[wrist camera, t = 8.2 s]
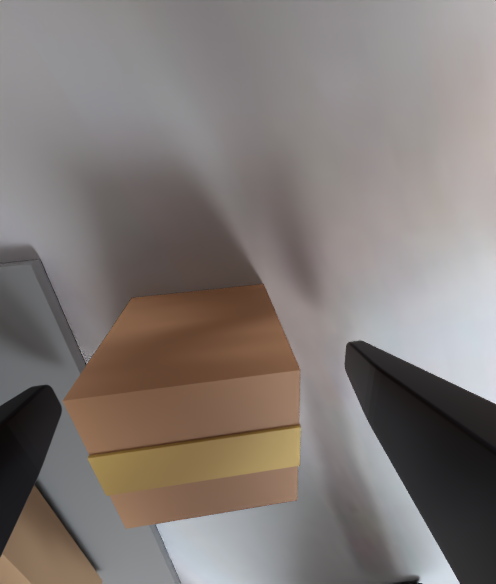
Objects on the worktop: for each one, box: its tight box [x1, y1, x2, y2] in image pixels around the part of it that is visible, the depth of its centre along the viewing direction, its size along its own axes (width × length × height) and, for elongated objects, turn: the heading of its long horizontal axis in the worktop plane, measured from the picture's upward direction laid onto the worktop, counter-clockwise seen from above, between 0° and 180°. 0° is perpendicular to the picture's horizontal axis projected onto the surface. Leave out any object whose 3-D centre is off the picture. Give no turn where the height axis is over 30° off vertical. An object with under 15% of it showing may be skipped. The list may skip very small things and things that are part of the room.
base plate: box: [0, 259, 181, 584], centre depth 12 cm, size 12×25×1 cm, turn 5°
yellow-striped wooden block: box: [63, 284, 301, 529], centre depth 7 cm, size 4×4×4 cm
